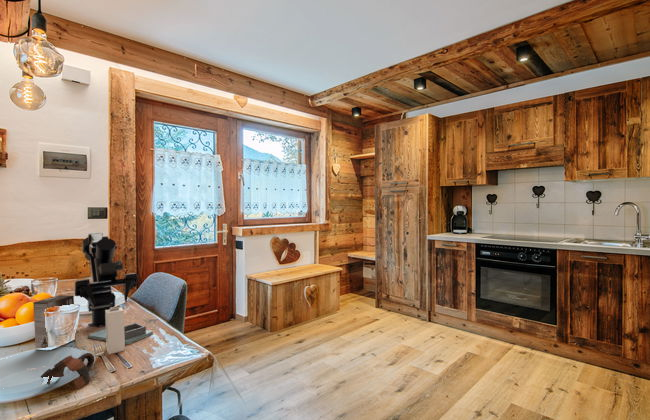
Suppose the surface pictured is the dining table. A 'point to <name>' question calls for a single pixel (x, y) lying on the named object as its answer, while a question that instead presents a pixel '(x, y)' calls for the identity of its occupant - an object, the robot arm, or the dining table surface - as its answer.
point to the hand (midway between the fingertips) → (110, 304)
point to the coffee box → (39, 316)
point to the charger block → (115, 330)
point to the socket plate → (103, 336)
